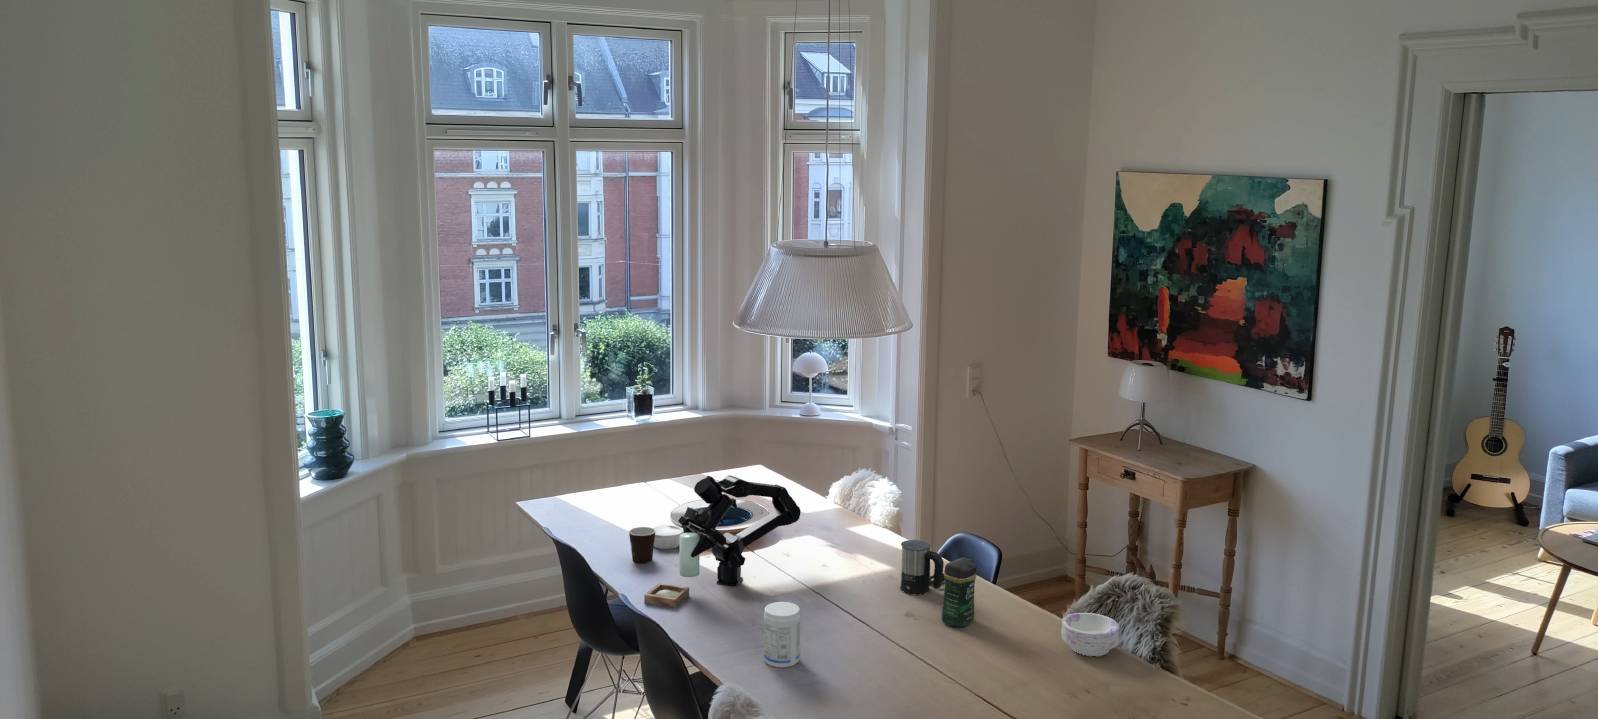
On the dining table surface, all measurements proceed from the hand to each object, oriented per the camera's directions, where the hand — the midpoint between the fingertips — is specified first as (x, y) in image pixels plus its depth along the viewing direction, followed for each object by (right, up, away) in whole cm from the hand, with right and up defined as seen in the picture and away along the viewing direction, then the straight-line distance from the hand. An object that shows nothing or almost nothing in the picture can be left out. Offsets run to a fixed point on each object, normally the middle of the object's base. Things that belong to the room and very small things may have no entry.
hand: (685, 553), depth 327 cm
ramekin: (-11, -5, +45) cm, 46 cm away
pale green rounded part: (+1, -6, +2) cm, 7 cm away
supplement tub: (+30, -21, -41) cm, 55 cm away
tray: (-5, -13, -2) cm, 14 cm away
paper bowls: (+114, -21, -31) cm, 119 cm away
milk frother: (+73, -13, +12) cm, 75 cm away
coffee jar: (+80, -17, -14) cm, 83 cm away
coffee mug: (-17, -7, +31) cm, 36 cm away
